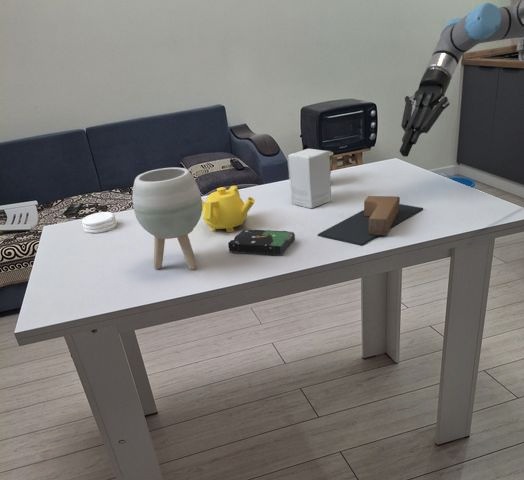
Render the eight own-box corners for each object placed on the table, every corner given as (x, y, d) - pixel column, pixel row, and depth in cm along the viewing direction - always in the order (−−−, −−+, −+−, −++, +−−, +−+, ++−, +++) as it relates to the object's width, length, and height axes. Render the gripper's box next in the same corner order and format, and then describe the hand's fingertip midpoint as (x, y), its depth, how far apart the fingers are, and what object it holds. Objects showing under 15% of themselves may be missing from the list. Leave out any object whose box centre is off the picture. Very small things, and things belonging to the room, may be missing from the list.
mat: (423, 209, 151) (423, 207, 151) (361, 245, 134) (361, 243, 133) (380, 202, 159) (380, 200, 159) (317, 235, 142) (317, 234, 142)
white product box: (332, 201, 165) (330, 150, 157) (311, 209, 161) (308, 157, 153) (311, 196, 171) (309, 147, 163) (291, 204, 167) (287, 154, 159)
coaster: (100, 220, 172) (97, 210, 170) (123, 223, 167) (121, 212, 165) (77, 232, 165) (74, 221, 163) (101, 235, 160) (97, 223, 158)
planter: (194, 246, 145) (179, 161, 133) (222, 264, 133) (208, 172, 121) (138, 264, 138) (117, 176, 126) (163, 284, 126) (142, 189, 114)
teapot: (181, 235, 153) (173, 196, 147) (212, 214, 166) (206, 177, 160) (243, 240, 145) (237, 199, 139) (270, 217, 158) (267, 179, 152)
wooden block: (367, 211, 153) (351, 234, 139) (367, 195, 151) (351, 217, 137) (399, 212, 150) (386, 236, 136) (400, 196, 147) (386, 218, 134)
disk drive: (228, 253, 138) (282, 256, 133) (227, 243, 137) (281, 245, 132) (244, 238, 146) (295, 240, 141) (243, 228, 145) (294, 230, 139)
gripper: (463, 85, 147) (429, 163, 146) (420, 85, 155) (387, 159, 154) (456, 66, 141) (420, 147, 140) (411, 67, 149) (377, 144, 148)
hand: (403, 153), depth 147 cm, fingers closed
